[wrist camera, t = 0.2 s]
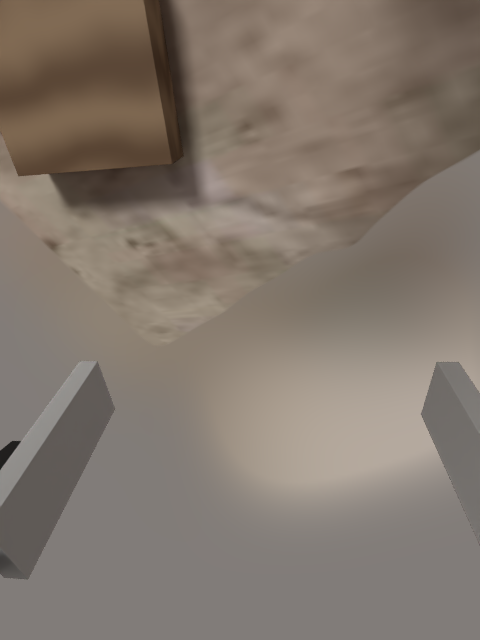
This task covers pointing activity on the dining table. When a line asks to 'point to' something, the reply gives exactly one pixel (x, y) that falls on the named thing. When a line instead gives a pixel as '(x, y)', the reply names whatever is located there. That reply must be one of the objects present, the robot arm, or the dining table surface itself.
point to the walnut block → (85, 86)
